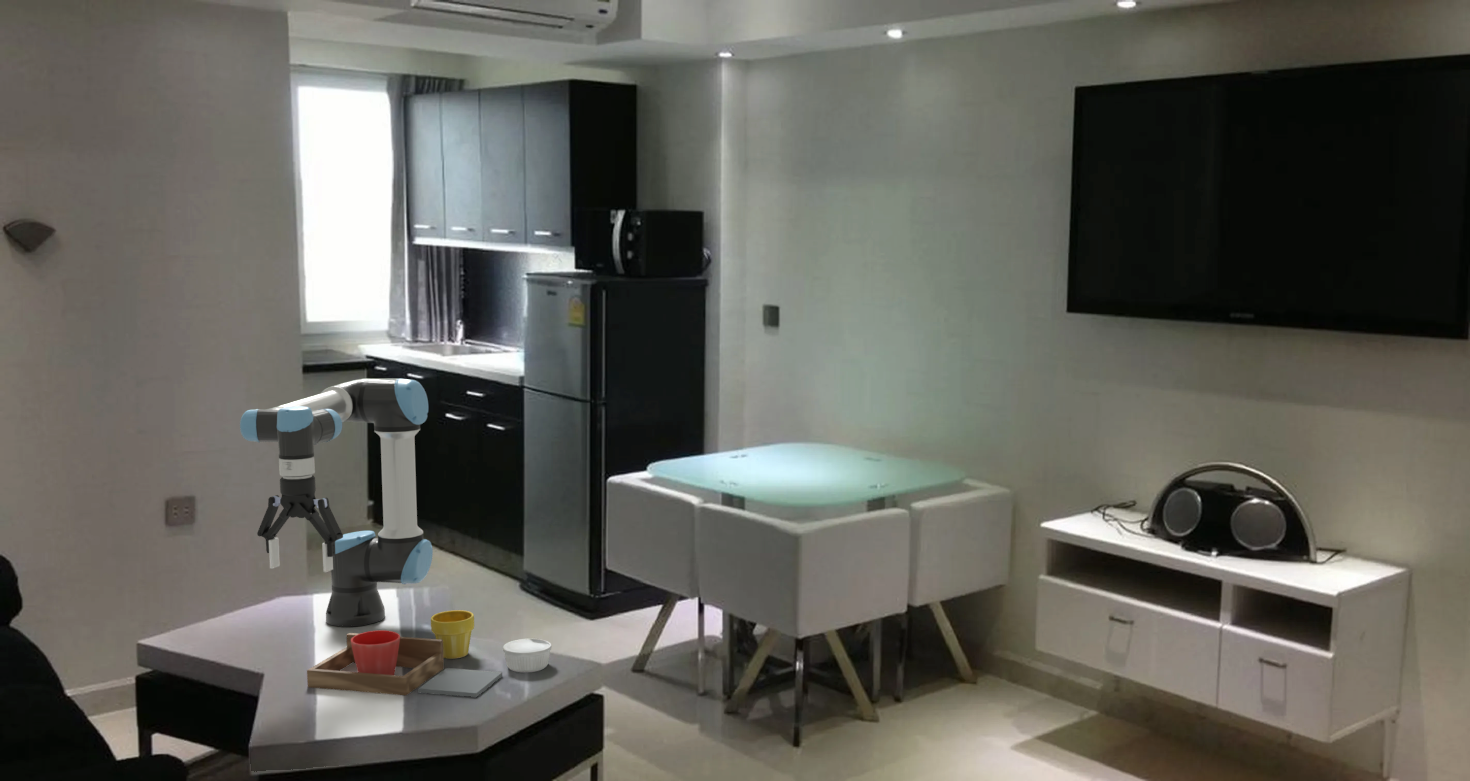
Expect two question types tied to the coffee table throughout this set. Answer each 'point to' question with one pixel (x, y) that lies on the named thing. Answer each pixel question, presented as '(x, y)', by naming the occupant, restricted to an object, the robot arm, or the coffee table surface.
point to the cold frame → (410, 654)
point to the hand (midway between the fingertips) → (301, 568)
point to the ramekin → (527, 654)
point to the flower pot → (376, 651)
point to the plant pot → (453, 632)
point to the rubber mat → (460, 682)
